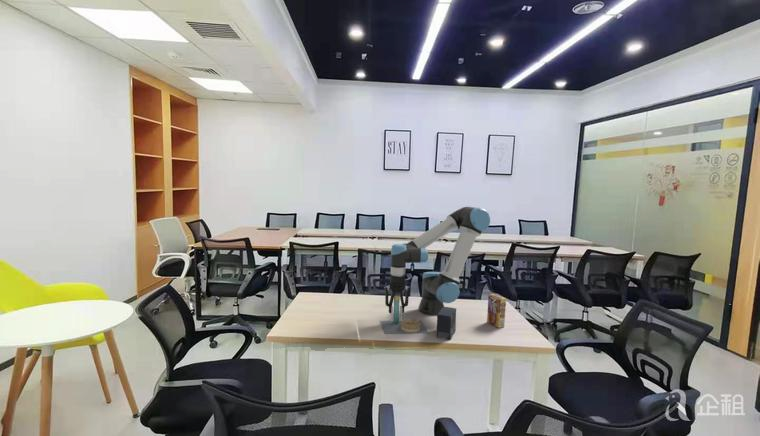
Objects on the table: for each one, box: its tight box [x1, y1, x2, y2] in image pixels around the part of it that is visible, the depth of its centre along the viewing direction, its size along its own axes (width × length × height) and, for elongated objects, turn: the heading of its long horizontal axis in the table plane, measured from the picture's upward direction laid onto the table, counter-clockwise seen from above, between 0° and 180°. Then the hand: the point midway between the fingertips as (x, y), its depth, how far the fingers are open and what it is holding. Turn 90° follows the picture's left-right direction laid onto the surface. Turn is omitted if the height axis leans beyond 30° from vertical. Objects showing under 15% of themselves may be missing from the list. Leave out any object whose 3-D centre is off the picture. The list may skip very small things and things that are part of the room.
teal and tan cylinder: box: [392, 295, 401, 324], centre depth 181 cm, size 3×3×14 cm
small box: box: [436, 306, 457, 341], centre depth 169 cm, size 13×7×12 cm, turn 157°
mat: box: [379, 320, 430, 335], centre depth 176 cm, size 22×17×1 cm
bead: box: [401, 318, 420, 332], centre depth 174 cm, size 9×9×3 cm
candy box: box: [486, 293, 507, 329], centre depth 185 cm, size 9×4×15 cm, turn 26°
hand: (396, 318), depth 181 cm, fingers open, 4 cm apart
